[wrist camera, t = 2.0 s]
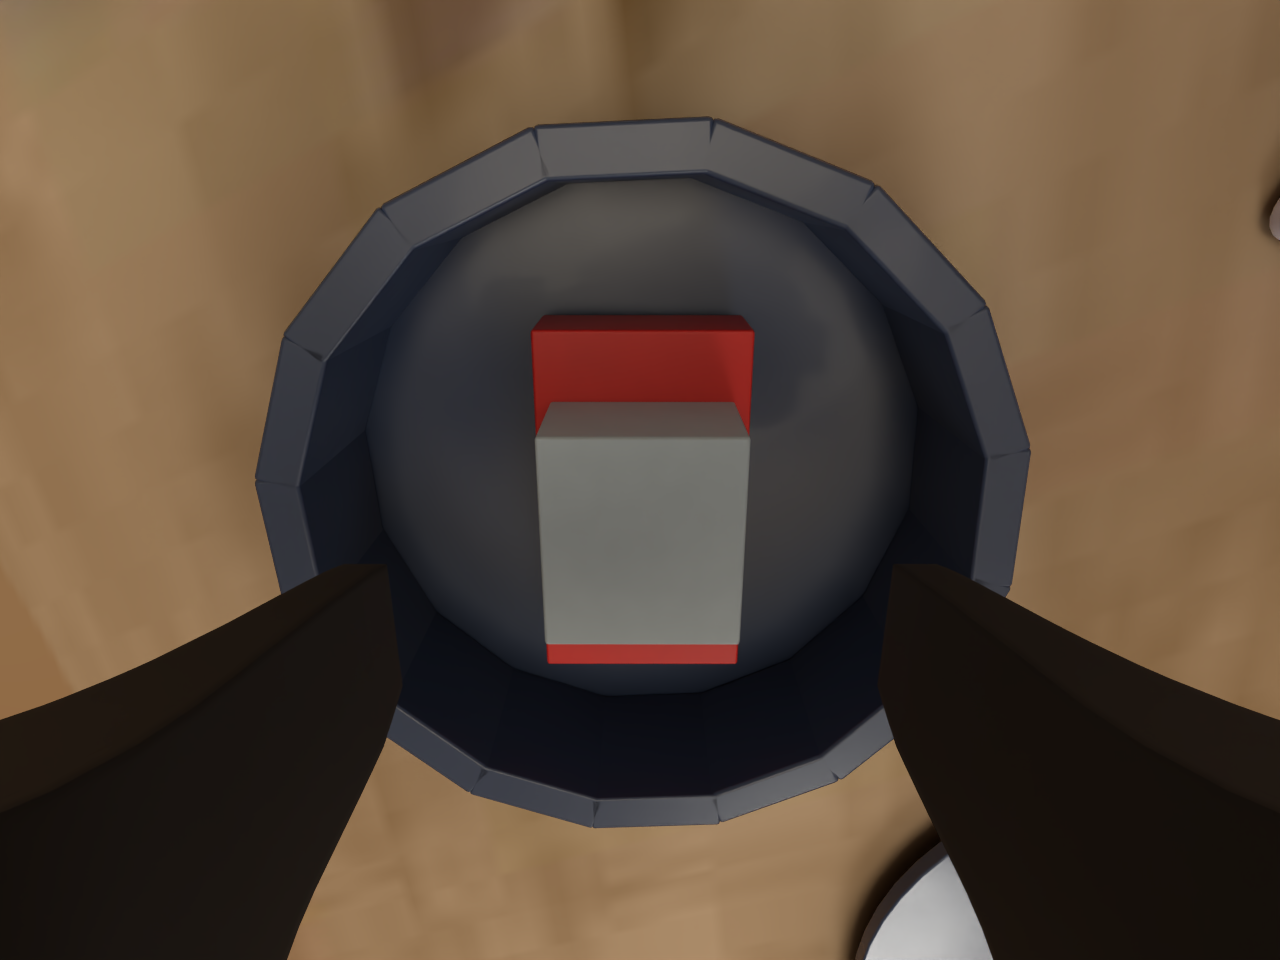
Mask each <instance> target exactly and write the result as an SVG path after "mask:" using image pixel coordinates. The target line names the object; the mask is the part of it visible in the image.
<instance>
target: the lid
mask: <svg viewBox="0 0 1280 960" xmlns="http://www.w3.org/2000/svg"><path fill="white" fill-rule="evenodd" d="M855 960H993V958H992V955H991V953H990V950H989V947H988V944H987V942H986V939H985V936H984V933H983V931H982V928H981V926H980V923H979V921H978V919H977V916H976V914H975V912H974V909H973V907H972V905H971V902H970V900H969V898H968V895H967V893H966V891H965V889H964V887H963V885H962V883H961V881H960V879H959V876H958V874H957V872H956V870H955V868H954V866H953V864H952V862H951V860H950V858H949V856H948V854H947V852H946V850H945V848H944V845H943V843H942V841H940V842H939V843H938V844H937V845H936V846H934V847H933V848H932V849H931V850H929V851H928V852H927V853H926V854H924V855H923V856H922V857H921V858H920V859H918V860H917V861H916V862H915V863H914V864H913V865H912V866H911V867H910V868H909V869H908V870H907V871H906V872H905V873H904V874H903V875H902V876H901V877H900V878H899V879H898V880H897V882H896V883H895V884H894V885H893V886H892V888H891V889H890V890H889V892H888V893H887V894H886V896H885V897H884V898H883V900H882V901H881V902H880V904H879V905H878V907H877V908H876V910H875V912H874V914H873V916H872V918H871V919H870V921H869V923H868V925H867V927H866V929H865V931H864V933H863V936H862V939H861V942H860V945H859V948H858V950H857V953H856V959H855Z"/></svg>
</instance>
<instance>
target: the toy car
mask: <svg viewBox="0 0 1280 960" xmlns="http://www.w3.org/2000/svg"><path fill="white" fill-rule="evenodd" d="M754 337H755V332H754V330H753V329H752V328H751V326H750V325H749V324H748V323H747V321H746V320H745V319H744V318H743V316H741V315H544V316H542V318H541V319H540V320H539V322H538V323H537V324H536V325H535V327H534V328H533V329H532V330H531V350H532V370H533V390H534V410H535V430H536V438H535V455H536V474H537V494H538V513H539V533H540V553H541V572H542V592H543V611H544V631H545V642H546V647H547V662H548V663H549V664H736V663H737V657H738V644H739V642H740V627H741V609H742V590H743V571H744V553H745V534H746V516H747V497H748V478H749V460H750V441H751V440H750V437H749V431H750V412H751V393H752V374H753V356H754Z"/></svg>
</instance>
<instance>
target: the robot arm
mask: <svg viewBox="0 0 1280 960" xmlns="http://www.w3.org/2000/svg"><path fill="white" fill-rule="evenodd" d="M1269 227H1270V230H1271V232H1272V235H1273V236H1274V237H1276V238H1277V239H1278V240H1280V198H1279V200H1278V202H1277V203H1276V205H1275V206H1274V209H1273V211H1272V213H1271V216H1270V225H1269ZM402 686H403V684H402V677H401V669H400V661H399V654H398V646H397V638H396V631H395V623H394V615H393V608H392V600H391V592H390V585H389V577H388V569H387V564H343V565H340V566H337V567H335V568H332V569H330V570H328V571H325V572H323V573H321V574H319V575H317V576H315V577H313V578H311V579H309V580H307V581H305V582H303V583H302V584H300V585H298V586H296V587H294V588H292V589H290V590H288V591H286V592H285V593H283V594H281V595H279V596H277V597H275V598H273V599H272V600H270V601H268V602H266V603H264V604H262V605H260V606H259V607H257V608H255V609H253V610H251V611H249V612H247V613H245V614H244V615H242V616H240V617H238V618H236V619H234V620H232V621H231V622H229V623H227V624H225V625H223V626H221V627H219V628H217V629H215V630H213V631H211V632H209V633H207V634H205V635H203V636H200V637H198V638H196V639H194V640H192V641H190V642H188V643H186V644H184V645H182V646H180V647H178V648H176V649H174V650H172V651H170V652H168V653H166V654H164V655H162V656H160V657H158V658H156V659H154V660H152V661H149V662H147V663H145V664H143V665H141V666H138V667H136V668H134V669H132V670H129V671H127V672H125V673H122V674H120V675H118V676H116V677H113V678H111V679H109V680H106V681H104V682H101V683H99V684H96V685H94V686H91V687H89V688H86V689H84V690H81V691H79V692H76V693H74V694H71V695H69V696H67V697H64V698H61V699H59V700H56V701H53V702H51V703H48V704H45V705H43V706H40V707H37V708H34V709H31V710H28V711H25V712H22V713H19V714H16V715H13V716H10V717H8V718H5V719H2V720H0V960H287V958H288V955H289V953H290V950H291V947H292V944H293V942H294V939H295V936H296V933H297V931H298V928H299V925H300V923H301V921H302V919H303V916H304V914H305V912H306V909H307V907H308V905H309V902H310V900H311V898H312V895H313V893H314V891H315V889H316V887H317V885H318V883H319V881H320V879H321V876H322V874H323V872H324V870H325V868H326V866H327V864H328V862H329V860H330V858H331V856H332V854H333V852H334V850H335V848H336V845H337V843H338V841H339V839H340V837H341V835H342V833H343V831H344V829H345V827H346V825H347V823H348V821H349V819H350V817H351V815H352V812H353V810H354V808H355V806H356V804H357V802H358V800H359V798H360V796H361V794H362V792H363V790H364V787H365V785H366V783H367V781H368V779H369V777H370V775H371V773H372V771H373V768H374V766H375V764H376V762H377V760H378V758H379V756H380V753H381V751H382V749H383V747H384V744H385V741H386V738H387V735H388V732H389V729H390V726H391V723H392V720H393V716H394V713H395V710H396V706H397V703H398V700H399V696H400V693H401V690H402ZM877 686H878V690H879V693H880V696H881V700H882V703H883V706H884V710H885V713H886V716H887V720H888V723H889V726H890V729H891V732H892V735H893V738H894V741H895V744H896V747H897V749H898V751H899V753H900V756H901V758H902V760H903V762H904V764H905V766H906V768H907V771H908V773H909V775H910V777H911V779H912V781H913V783H914V785H915V787H916V790H917V792H918V794H919V796H920V798H921V800H922V802H923V804H924V806H925V808H926V810H927V812H928V815H929V817H930V819H931V821H932V823H933V825H934V827H935V829H936V831H937V833H938V835H939V837H940V839H941V841H942V843H943V845H944V848H945V850H946V852H947V854H948V856H949V858H950V860H951V862H952V864H953V866H954V868H955V870H956V872H957V874H958V876H959V879H960V881H961V883H962V885H963V887H964V889H965V891H966V893H967V895H968V898H969V900H970V902H971V905H972V907H973V909H974V912H975V914H976V916H977V919H978V921H979V923H980V926H981V928H982V931H983V933H984V936H985V939H986V942H987V944H988V947H989V950H990V953H991V955H992V958H993V960H1280V720H1278V719H1275V718H1272V717H1269V716H1266V715H1263V714H1260V713H1258V712H1255V711H1252V710H1249V709H1246V708H1244V707H1241V706H1238V705H1235V704H1233V703H1230V702H1227V701H1225V700H1222V699H1220V698H1217V697H1215V696H1212V695H1210V694H1207V693H1205V692H1202V691H1200V690H1197V689H1195V688H1192V687H1190V686H1187V685H1185V684H1182V683H1180V682H1177V681H1175V680H1172V679H1170V678H1167V677H1165V676H1163V675H1160V674H1158V673H1156V672H1154V671H1151V670H1149V669H1147V668H1144V667H1142V666H1140V665H1138V664H1136V663H1133V662H1131V661H1129V660H1127V659H1125V658H1123V657H1121V656H1119V655H1117V654H1114V653H1112V652H1110V651H1108V650H1106V649H1104V648H1102V647H1100V646H1098V645H1095V644H1093V643H1091V642H1089V641H1087V640H1085V639H1083V638H1081V637H1079V636H1077V635H1075V634H1073V633H1071V632H1069V631H1067V630H1065V629H1064V628H1062V627H1060V626H1058V625H1056V624H1054V623H1052V622H1050V621H1048V620H1046V619H1044V618H1042V617H1041V616H1039V615H1037V614H1035V613H1033V612H1031V611H1029V610H1027V609H1026V608H1024V607H1022V606H1020V605H1018V604H1016V603H1014V602H1013V601H1011V600H1009V599H1007V598H1005V597H1003V596H1001V595H1000V594H998V593H996V592H994V591H992V590H990V589H988V588H987V587H985V586H983V585H981V584H979V583H977V582H975V581H973V580H971V579H969V578H967V577H965V576H963V575H961V574H959V573H957V572H955V571H953V570H950V569H948V568H946V567H943V566H940V565H938V564H893V569H892V577H891V585H890V592H889V600H888V608H887V615H886V623H885V631H884V638H883V646H882V653H881V661H880V669H879V676H878V684H877Z"/></svg>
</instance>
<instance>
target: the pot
mask: <svg viewBox="0 0 1280 960" xmlns="http://www.w3.org/2000/svg"><path fill="white" fill-rule="evenodd" d="M544 315H741V316H743V318H744V319H745V320H746V321H747V323H748V324H749V325H750V326H751V328H752V329H753V330H754V332H755V337H754V356H753V374H752V393H751V412H750V431H749V437H750V440H751V441H750V460H749V478H748V497H747V516H746V534H745V553H744V571H743V590H742V609H741V627H740V642H739V644H738V657H737V663H736V664H549V663H548V662H547V647H546V642H545V631H544V611H543V592H542V572H541V553H540V533H539V513H538V494H537V474H536V455H535V438H536V430H535V410H534V390H533V370H532V350H531V330H532V329H533V328H534V327H535V325H536V324H537V323H538V322H539V320H540V319H541V318H542V316H544ZM1029 448H1030V443H1029V440H1028V436H1027V433H1026V430H1025V426H1024V423H1023V420H1022V416H1021V413H1020V410H1019V406H1018V403H1017V400H1016V396H1015V393H1014V390H1013V386H1012V383H1011V380H1010V376H1009V373H1008V370H1007V366H1006V363H1005V360H1004V356H1003V353H1002V350H1001V346H1000V343H999V340H998V336H997V333H996V330H995V326H994V323H993V320H992V316H991V313H990V310H989V308H988V307H987V306H986V303H985V300H984V299H983V298H982V297H981V296H980V295H979V294H978V292H977V291H976V290H975V289H974V288H973V287H972V286H971V285H970V284H969V283H968V282H967V280H966V279H965V278H964V277H963V276H962V275H961V274H960V273H959V272H958V271H957V270H956V268H955V267H954V266H953V265H952V264H951V263H950V262H949V261H948V260H947V259H946V258H945V256H944V255H943V254H942V253H941V252H940V251H939V250H938V249H937V248H936V247H935V246H934V244H933V243H932V242H931V241H930V240H929V239H928V238H927V237H926V236H925V235H924V233H923V232H922V231H921V230H920V229H919V228H918V227H917V226H916V225H915V224H914V223H913V221H912V220H911V219H910V218H909V217H908V216H907V215H906V214H905V213H904V212H903V211H902V209H901V208H900V207H899V206H898V205H897V204H896V203H895V202H894V201H893V200H892V199H891V197H890V196H889V195H888V194H887V193H886V192H885V191H884V190H883V189H882V188H881V187H880V186H878V185H874V183H873V182H872V181H871V180H869V179H867V178H864V177H862V176H859V175H857V174H854V173H852V172H849V171H847V170H844V169H842V168H839V167H837V166H835V165H832V164H830V163H827V162H825V161H822V160H820V159H817V158H815V157H812V156H810V155H807V154H805V153H803V152H800V151H798V150H795V149H793V148H790V147H788V146H785V145H783V144H780V143H778V142H776V141H773V140H771V139H768V138H766V137H763V136H761V135H758V134H756V133H753V132H751V131H748V130H746V129H744V128H741V127H739V126H736V125H734V124H731V123H729V122H726V121H724V120H721V119H714V120H713V119H712V118H711V117H709V116H706V117H686V118H665V119H644V120H624V121H603V122H582V123H562V124H541V125H536V126H535V127H534V128H533V127H529V128H526V129H525V130H523V131H521V132H519V133H517V134H515V135H513V136H511V137H509V138H507V139H506V140H504V141H502V142H500V143H498V144H496V145H494V146H492V147H490V148H488V149H486V150H485V151H483V152H481V153H479V154H477V155H475V156H473V157H471V158H469V159H467V160H466V161H464V162H462V163H460V164H458V165H456V166H454V167H452V168H450V169H448V170H447V171H445V172H443V173H441V174H439V175H437V176H435V177H433V178H431V179H429V180H427V181H426V182H424V183H422V184H420V185H418V186H416V187H414V188H412V189H410V190H408V191H407V192H405V193H403V194H401V195H399V196H397V197H395V198H393V199H391V200H389V201H388V202H386V203H384V204H383V205H382V206H381V208H377V209H376V210H375V211H374V213H373V214H372V215H371V217H370V218H369V219H368V221H367V222H366V223H365V225H364V226H363V228H362V229H361V230H360V232H359V233H358V234H357V236H356V237H355V238H354V240H353V241H352V242H351V244H350V245H349V246H348V248H347V249H346V250H345V252H344V253H343V254H342V256H341V257H340V258H339V260H338V261H337V262H336V264H335V265H334V266H333V268H332V269H331V270H330V272H329V273H328V274H327V276H326V277H325V278H324V280H323V281H322V282H321V284H320V285H319V286H318V288H317V289H316V290H315V292H314V293H313V294H312V296H311V297H310V298H309V300H308V301H307V302H306V304H305V305H304V306H303V308H302V309H301V310H300V312H299V313H298V314H297V316H296V317H295V318H294V320H293V321H292V322H291V324H290V325H289V326H288V328H287V329H286V330H285V332H284V337H283V338H282V342H281V347H280V352H279V357H278V362H277V367H276V372H275V377H274V382H273V387H272V392H271V397H270V402H269V407H268V413H267V418H266V423H265V428H264V433H263V438H262V443H261V448H260V453H259V458H258V463H257V468H256V473H255V479H257V480H256V481H255V486H256V490H257V494H258V498H259V503H260V507H261V511H262V515H263V519H264V524H265V528H266V532H267V536H268V540H269V545H270V549H271V553H272V557H273V561H274V566H275V570H276V574H277V578H278V582H279V587H280V591H281V594H283V593H285V592H286V591H288V590H290V589H292V588H294V587H296V586H298V585H300V584H302V583H303V582H305V581H307V580H309V579H311V578H313V577H315V576H317V575H319V574H321V573H323V572H325V571H328V570H330V569H332V568H335V567H337V566H340V565H343V564H387V569H388V577H389V585H390V592H391V600H392V608H393V615H394V623H395V631H396V638H397V646H398V654H399V661H400V669H401V677H402V684H403V686H402V690H401V693H400V696H399V700H398V703H397V706H396V710H395V713H394V716H393V720H392V723H391V726H390V729H389V732H388V735H387V738H389V739H390V740H392V741H393V742H395V743H396V744H398V745H399V746H401V747H402V748H404V749H405V750H407V751H408V752H410V753H411V754H413V755H414V756H415V757H417V758H418V759H420V760H421V761H423V762H424V763H426V764H427V765H429V766H430V767H432V768H433V769H435V770H436V771H438V772H439V773H441V774H442V775H444V776H445V777H447V778H448V779H449V780H451V781H452V782H454V783H455V784H457V785H458V786H460V787H461V788H463V789H464V790H466V791H467V792H471V794H473V795H476V796H480V797H484V798H487V799H491V800H494V801H498V802H501V803H505V804H508V805H512V806H516V807H519V808H523V809H526V810H530V811H533V812H537V813H540V814H544V815H547V816H551V817H555V818H558V819H562V820H565V821H569V822H572V823H576V824H579V825H583V826H587V827H593V828H615V827H646V826H677V825H709V824H719V822H720V821H721V822H724V821H727V820H730V819H733V818H736V817H738V816H741V815H744V814H747V813H750V812H753V811H755V810H758V809H761V808H764V807H767V806H770V805H772V804H775V803H778V802H781V801H784V800H787V799H789V798H792V797H795V796H798V795H801V794H803V793H806V792H809V791H812V790H815V789H818V788H820V787H823V786H826V785H829V784H832V783H835V782H836V781H838V778H839V779H843V778H844V777H846V776H847V775H848V774H850V773H851V772H852V771H853V770H855V769H856V768H857V767H858V766H860V765H861V764H862V763H864V762H865V761H866V760H867V759H869V758H870V757H871V756H872V755H874V754H875V753H876V752H878V751H879V750H880V749H881V748H883V747H884V746H885V745H886V744H888V743H889V742H890V741H891V740H893V739H894V738H893V735H892V732H891V729H890V726H889V723H888V720H887V716H886V713H885V710H884V706H883V703H882V700H881V696H880V693H879V690H878V686H877V684H878V676H879V669H880V661H881V653H882V646H883V638H884V631H885V623H886V615H887V608H888V600H889V592H890V585H891V577H892V569H893V564H938V565H940V566H943V567H946V568H948V569H950V570H953V571H955V572H957V573H959V574H961V575H963V576H965V577H967V578H969V579H971V580H973V581H975V582H977V583H979V584H981V585H983V586H985V587H987V588H988V589H990V590H992V591H994V592H996V593H998V594H1000V595H1001V596H1003V597H1006V595H1007V594H1008V592H1009V590H1010V586H1011V584H1012V579H1013V572H1014V565H1015V558H1016V551H1017V544H1018V537H1019V531H1020V524H1021V517H1022V510H1023V503H1024V496H1025V489H1026V482H1027V475H1028V468H1029V462H1030V455H1031V451H1030V449H1029Z"/></svg>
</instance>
